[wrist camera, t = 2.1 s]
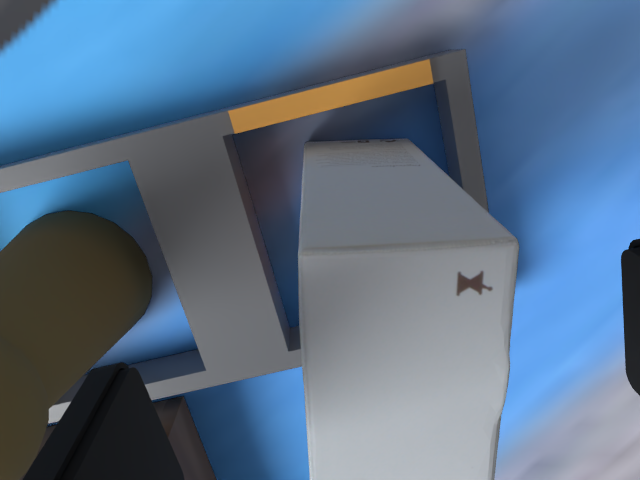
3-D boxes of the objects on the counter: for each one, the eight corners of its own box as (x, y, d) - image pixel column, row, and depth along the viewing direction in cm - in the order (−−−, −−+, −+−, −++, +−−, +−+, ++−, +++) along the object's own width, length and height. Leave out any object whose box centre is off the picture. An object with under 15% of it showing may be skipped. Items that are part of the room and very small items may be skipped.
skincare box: (300, 139, 21) (293, 242, 9) (409, 136, 21) (532, 233, 9) (306, 281, 23) (307, 506, 11) (405, 277, 23) (502, 498, 11)
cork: (15, 192, 21) (-266, 326, 11) (165, 233, 22) (37, 394, 11) (0, 322, 23) (-251, 541, 13) (138, 355, 24) (8, 589, 13)
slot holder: (450, 49, 20) (467, 49, 18) (488, 298, 23) (507, 324, 21) (-97, 191, 21) (-144, 206, 19) (17, 406, 24) (-12, 441, 22)
